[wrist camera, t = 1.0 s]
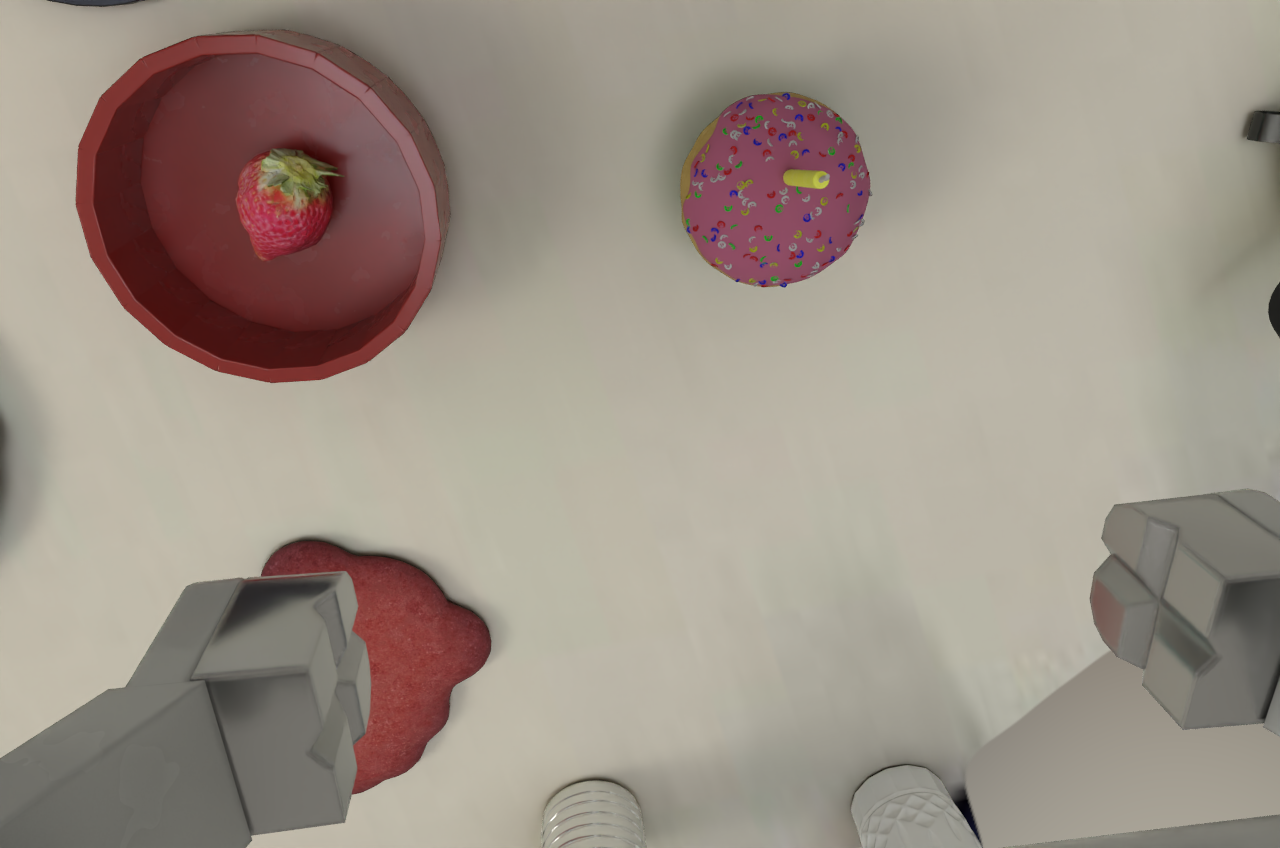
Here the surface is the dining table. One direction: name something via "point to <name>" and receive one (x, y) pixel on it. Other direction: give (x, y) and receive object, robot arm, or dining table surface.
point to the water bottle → (593, 818)
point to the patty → (398, 651)
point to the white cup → (909, 812)
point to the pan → (210, 222)
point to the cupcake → (774, 189)
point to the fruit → (284, 201)
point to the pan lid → (97, 2)
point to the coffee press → (1275, 131)
